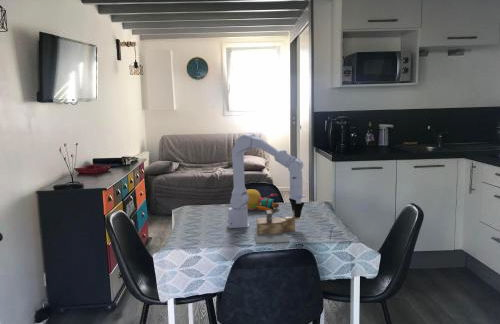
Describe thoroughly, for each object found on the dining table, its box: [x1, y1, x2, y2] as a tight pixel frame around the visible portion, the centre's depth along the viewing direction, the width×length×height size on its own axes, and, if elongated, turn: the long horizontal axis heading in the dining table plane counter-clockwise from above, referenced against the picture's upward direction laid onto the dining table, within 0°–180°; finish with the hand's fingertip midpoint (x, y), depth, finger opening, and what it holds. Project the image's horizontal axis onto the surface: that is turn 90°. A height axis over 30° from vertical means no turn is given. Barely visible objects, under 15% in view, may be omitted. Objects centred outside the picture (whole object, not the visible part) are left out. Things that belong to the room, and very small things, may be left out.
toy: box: [247, 188, 280, 212], centre depth 243 cm, size 19×11×25 cm
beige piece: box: [284, 210, 302, 221], centre depth 202 cm, size 7×3×4 cm, turn 92°
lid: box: [256, 210, 282, 225], centre depth 201 cm, size 11×9×6 cm
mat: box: [254, 232, 291, 245], centre depth 190 cm, size 14×12×1 cm
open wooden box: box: [256, 218, 296, 234], centre depth 202 cm, size 17×9×5 cm, turn 92°
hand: (296, 215), depth 202 cm, fingers open, 7 cm apart
